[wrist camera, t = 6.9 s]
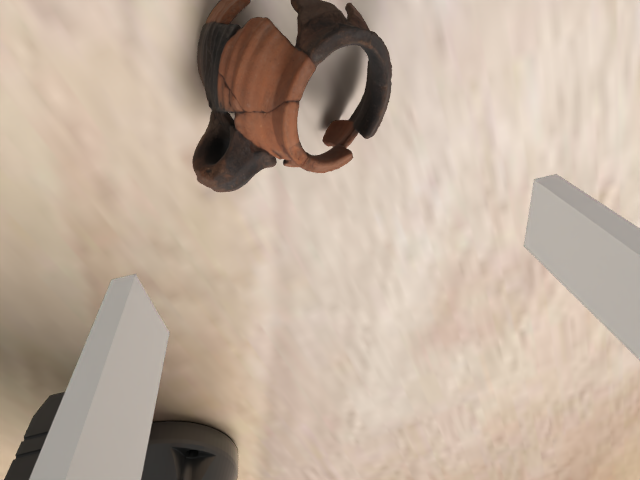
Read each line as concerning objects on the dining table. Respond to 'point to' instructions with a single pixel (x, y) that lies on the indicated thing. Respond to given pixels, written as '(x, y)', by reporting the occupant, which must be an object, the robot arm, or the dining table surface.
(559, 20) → the dining table surface
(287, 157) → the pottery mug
